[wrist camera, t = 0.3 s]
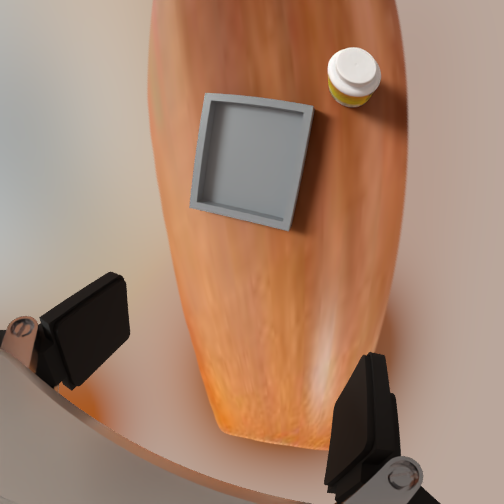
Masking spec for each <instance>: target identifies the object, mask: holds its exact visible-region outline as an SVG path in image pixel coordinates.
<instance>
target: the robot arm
mask: <svg viewBox="0 0 504 504" xmlns="http://www.w3.org/2000/svg"><path fill="white" fill-rule="evenodd" d="M40 321H41V324H39V325H38V323H37V321H36V320H35V319H34V318H32V317H29V316H21V317H18V318H16V319H14V320H13V321H12V322H11V323H9V325H8V327H7V330H0V504H310V503H305V502H300V501H294V500H290V499H285V498H280V497H276V496H272V495H268V494H264V493H260V492H256V491H253V490H249V489H246V488H242V487H239V486H235V485H232V484H229V483H226V482H223V481H220V480H217V479H214V478H212V477H209V476H206V475H204V474H201V473H198V472H196V471H193V470H190V469H188V468H186V467H183V466H181V465H179V464H176V463H174V462H172V461H170V460H168V459H166V458H163V457H161V456H159V455H157V454H155V453H153V452H151V451H149V450H147V449H145V448H143V447H141V446H139V445H138V444H136V443H134V442H132V441H130V440H128V439H127V438H125V437H123V436H121V435H120V434H118V433H116V432H115V431H113V430H111V429H110V428H108V427H106V426H105V425H103V424H102V423H100V422H98V421H97V420H95V419H94V418H92V417H91V416H89V415H88V414H86V413H85V412H84V411H82V410H81V409H79V408H78V407H76V406H75V405H74V404H72V403H71V402H70V401H68V400H67V399H66V398H64V397H63V396H62V395H60V394H59V393H58V392H59V383H60V382H61V381H62V383H63V384H64V385H65V386H66V387H68V388H69V389H70V390H73V389H74V388H75V387H76V386H80V385H81V384H83V383H84V382H85V380H87V379H88V378H89V377H90V376H91V375H92V374H93V373H94V372H95V370H97V369H98V367H100V366H101V365H102V364H103V363H104V362H105V361H106V360H107V359H108V358H109V357H110V356H111V355H112V354H113V353H114V352H115V351H116V350H117V349H118V348H119V347H120V346H121V345H122V344H123V343H124V342H125V341H126V340H127V339H128V338H129V335H130V326H129V315H128V303H127V288H126V282H125V281H124V278H123V277H122V276H121V275H118V274H116V273H113V272H108V273H107V274H105V275H103V276H102V277H100V278H99V279H97V280H95V281H94V282H92V283H91V284H89V285H88V286H86V287H84V288H83V289H81V290H80V291H79V292H77V293H75V294H74V295H72V296H71V297H69V298H67V299H66V300H64V301H63V302H62V303H60V304H58V305H57V306H55V307H54V308H53V309H51V310H50V311H48V312H47V313H45V314H44V315H42V316H41V317H40ZM399 436H400V435H399V423H398V413H397V404H396V398H395V395H394V394H393V393H390V388H389V380H388V373H387V366H386V359H385V356H384V355H381V354H376V353H372V352H369V353H368V354H367V356H366V355H363V356H362V357H361V359H360V361H359V363H358V364H357V366H356V368H355V370H354V372H353V374H352V375H351V377H350V379H349V381H348V383H347V384H346V386H345V388H344V389H343V391H342V393H341V395H340V396H339V398H338V400H337V401H336V403H335V406H334V411H333V421H332V430H331V439H330V446H329V454H328V461H327V467H326V474H325V480H324V484H325V485H328V490H327V493H334V494H336V496H335V500H336V503H335V504H440V503H439V502H438V501H437V500H436V499H434V497H432V496H431V495H430V494H429V493H428V492H427V491H425V489H424V488H423V487H421V484H422V481H423V471H422V469H421V467H420V465H419V464H418V463H417V462H416V461H415V460H413V459H412V458H409V457H405V456H401V449H400V437H399Z"/></svg>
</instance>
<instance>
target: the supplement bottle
mask: <svg viewBox="0 0 504 504" xmlns="http://www.w3.org/2000/svg"><path fill="white" fill-rule="evenodd" d="M380 80H381V72H380V68H379V66H378V64H377V62H376V61H375V60H374V58H373V57H372V56H371V55H370V54H369V53H368V52H367V51H365V50H363V49H360V48H347V49H344V50H341V51H339V52H337V53H335V54H334V55H333V56H332V58H331V59H330V61H329V64H328V83H329V90H330V93H331V95H332V96H333V98H334V99H335V100H336V101H337V102H338V103H340V104H342V105H344V106H347V107H358V106H361V105H363V104H365V103H366V102H367V101H368V100H369V99H370V97H371V96H372V95H373V93H374V92H375V90H376V89H377V87H378V86H379V83H380Z"/></svg>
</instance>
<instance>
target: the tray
mask: <svg viewBox="0 0 504 504" xmlns="http://www.w3.org/2000/svg"><path fill="white" fill-rule="evenodd" d="M314 110H315V109H314V106H310V105H305V104H299V103H294V102H287V101H281V100H274V99H267V98H259V97H250V96H241V95H229V94H215V93H205V97H204V103H203V109H202V115H201V121H200V128H199V134H198V141H197V148H196V156H195V163H194V171H193V180H192V188H191V197H190V207H189V208H193V209H198V210H202V211H206V212H211V213H215V214H219V215H224V216H228V217H232V218H237V219H241V220H245V221H249V222H253V223H257V224H262V225H266V226H270V227H274V228H278V229H282V230H286V231H289V230H290V228H291V226H292V221H293V217H294V212H295V207H296V203H297V198H298V193H299V188H300V183H301V178H302V173H303V168H304V163H305V158H306V153H307V148H308V143H309V137H310V132H311V127H312V121H313V116H314Z"/></svg>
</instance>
